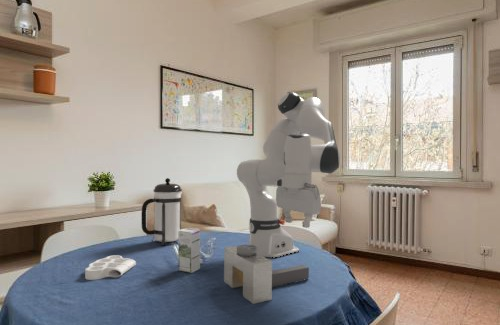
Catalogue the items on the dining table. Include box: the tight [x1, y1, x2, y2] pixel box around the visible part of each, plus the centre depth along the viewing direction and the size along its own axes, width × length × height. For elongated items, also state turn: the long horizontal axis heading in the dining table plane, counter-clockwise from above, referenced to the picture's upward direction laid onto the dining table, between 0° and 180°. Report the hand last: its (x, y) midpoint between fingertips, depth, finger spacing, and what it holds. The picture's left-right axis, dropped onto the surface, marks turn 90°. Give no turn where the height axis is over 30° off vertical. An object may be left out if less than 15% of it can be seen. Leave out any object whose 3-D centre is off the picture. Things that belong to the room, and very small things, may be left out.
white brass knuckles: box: [84, 254, 137, 281], centre depth 122 cm, size 3×18×15 cm
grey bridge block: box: [223, 244, 273, 305], centre depth 105 cm, size 6×19×13 cm, turn 29°
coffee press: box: [141, 177, 183, 247], centre depth 161 cm, size 17×16×30 cm
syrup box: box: [177, 227, 201, 274], centre depth 123 cm, size 6×6×14 cm
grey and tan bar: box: [272, 264, 310, 288], centre depth 110 cm, size 21×5×5 cm, turn 119°
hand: (297, 224), depth 114 cm, fingers open, 8 cm apart
